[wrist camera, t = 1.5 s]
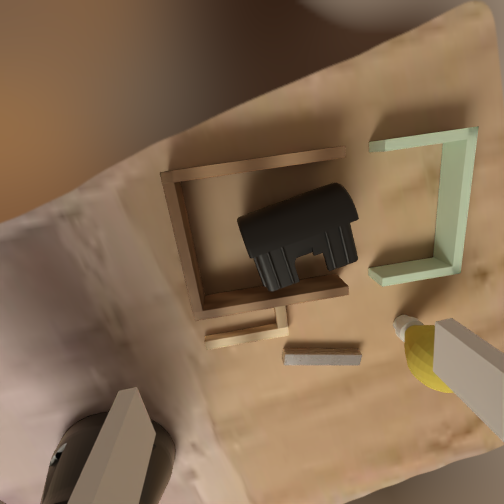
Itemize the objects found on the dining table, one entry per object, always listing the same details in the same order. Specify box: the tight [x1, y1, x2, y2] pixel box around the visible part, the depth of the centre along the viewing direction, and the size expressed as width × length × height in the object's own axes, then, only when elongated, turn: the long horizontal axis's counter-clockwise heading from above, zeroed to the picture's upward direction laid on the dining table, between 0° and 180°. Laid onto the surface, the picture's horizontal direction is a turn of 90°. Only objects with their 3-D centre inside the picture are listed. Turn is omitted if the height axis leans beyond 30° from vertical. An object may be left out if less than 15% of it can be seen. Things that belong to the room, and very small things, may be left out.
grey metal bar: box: [282, 348, 362, 365], centre depth 35 cm, size 10×2×2 cm, turn 85°
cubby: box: [160, 146, 349, 321], centre depth 28 cm, size 16×15×4 cm
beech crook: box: [205, 306, 289, 350], centre depth 33 cm, size 10×5×1 cm, turn 98°
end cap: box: [237, 183, 359, 291], centre depth 27 cm, size 10×7×7 cm
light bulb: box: [393, 315, 454, 393], centre depth 31 cm, size 7×7×10 cm
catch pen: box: [369, 126, 479, 287], centre depth 29 cm, size 9×15×3 cm, turn 8°
